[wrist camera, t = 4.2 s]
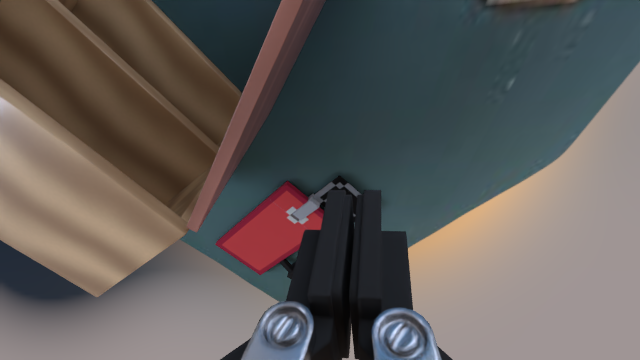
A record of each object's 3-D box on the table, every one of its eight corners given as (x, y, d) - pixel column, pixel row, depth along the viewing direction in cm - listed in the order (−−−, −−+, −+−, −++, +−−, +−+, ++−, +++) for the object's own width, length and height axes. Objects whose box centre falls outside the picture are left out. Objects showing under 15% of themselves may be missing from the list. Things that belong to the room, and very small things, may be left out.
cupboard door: (418, -63, 34) (469, -58, 15) (303, 132, 49) (254, 259, 30) (364, -102, 33) (344, -151, 14) (263, 110, 48) (185, 227, 29)
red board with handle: (384, 210, 56) (318, 152, 51) (384, 222, 53) (315, 162, 49) (276, 279, 71) (218, 239, 67) (272, 290, 69) (212, 249, 65)
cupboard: (100, -53, 39) (-179, -39, 20) (263, 114, 49) (185, 234, 29) (44, 49, 48) (-188, 129, 28) (193, 173, 57) (96, 297, 38)
